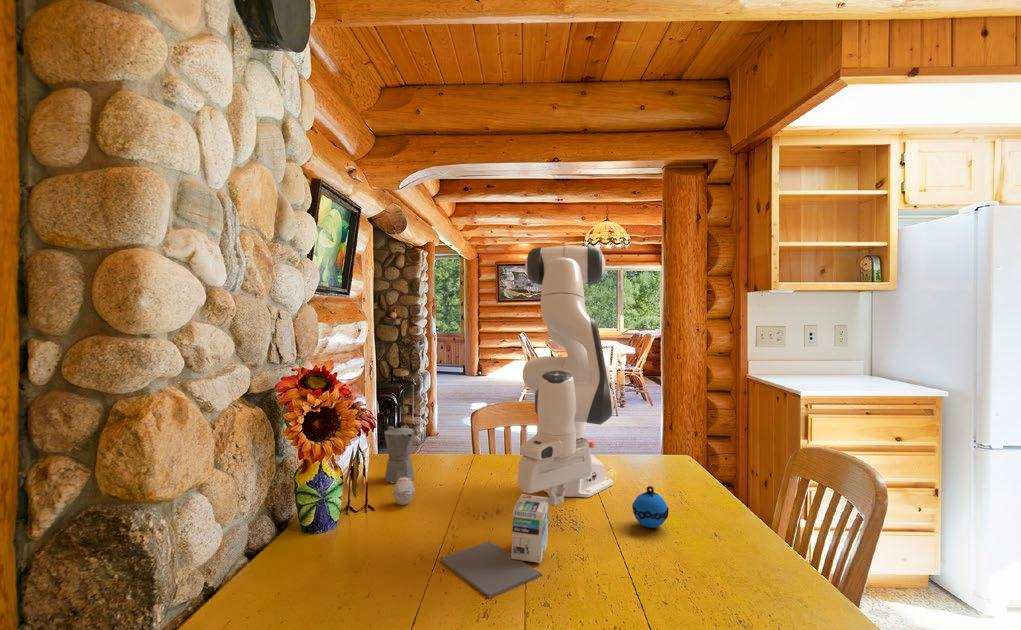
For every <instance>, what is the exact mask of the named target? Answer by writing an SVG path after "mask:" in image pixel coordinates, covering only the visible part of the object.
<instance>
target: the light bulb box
mask: <svg viewBox="0 0 1021 630" xmlns="http://www.w3.org/2000/svg"><path fill="white" fill-rule="evenodd" d="M549 508H550V502H549V496H538V495H532V494H531V495H530V494H526V493H525V494H523V493H522V494H521V495H520V496H519V498H518V500H517V502H516V503H515V505H514V507H513V509H512V533H511V535H512V536H511V553H510V554H511V559H516V560H521V561H523V562H531V563H532V562H533V563H538V564H540V563H542V560H543V558H544V555H545V552H546V549H547V546H548V531H549V530H548V529H549V510H550V509H549Z"/></svg>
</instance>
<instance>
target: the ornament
mask: <svg viewBox="0 0 1021 630" xmlns="http://www.w3.org/2000/svg"><path fill="white" fill-rule="evenodd" d="M631 508H632V513H633V515H634V518H635V520H636V521H637V522H638V523H639V524H641V526H643V527H645V528H648V529H649V528H650V529H653V528H659V527H660V526H662V525H663V524H664V523H665V522H666V520H667V519H668V517H669V511H670V510H669V507H668V505H667V503H666V501H665V499H664V498H663V496H661V495H660V494H658V493H657V492H655V488H654V487H653V486H652V485H649V486H647V487H646V491H645V492H642V493H640V494H639V495H637V497H635V499H634V501H633V502H632V507H631Z"/></svg>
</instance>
